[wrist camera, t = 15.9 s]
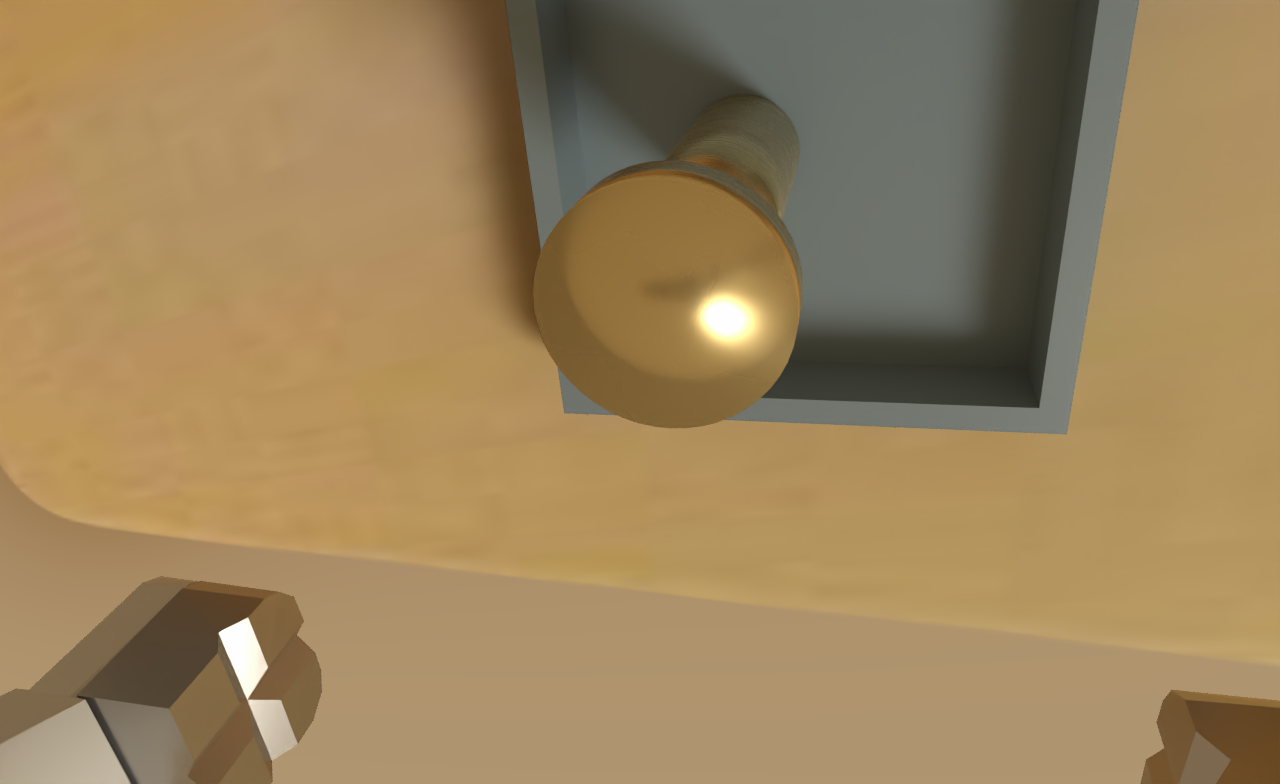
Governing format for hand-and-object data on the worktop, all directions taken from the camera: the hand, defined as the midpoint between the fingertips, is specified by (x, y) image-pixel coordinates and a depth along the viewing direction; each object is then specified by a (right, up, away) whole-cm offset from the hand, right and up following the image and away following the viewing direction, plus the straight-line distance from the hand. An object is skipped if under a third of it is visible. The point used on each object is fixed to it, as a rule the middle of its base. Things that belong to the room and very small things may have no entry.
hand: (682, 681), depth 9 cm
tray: (+4, +10, +17) cm, 20 cm away
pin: (+2, +10, +17) cm, 20 cm away
